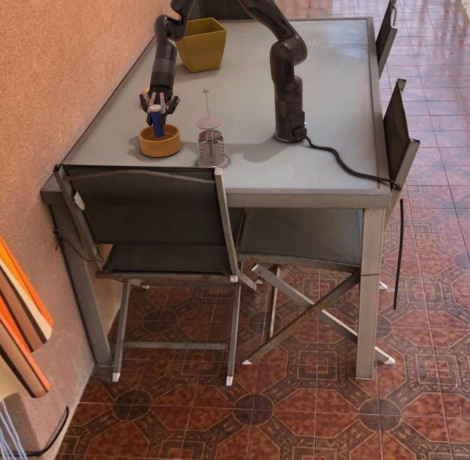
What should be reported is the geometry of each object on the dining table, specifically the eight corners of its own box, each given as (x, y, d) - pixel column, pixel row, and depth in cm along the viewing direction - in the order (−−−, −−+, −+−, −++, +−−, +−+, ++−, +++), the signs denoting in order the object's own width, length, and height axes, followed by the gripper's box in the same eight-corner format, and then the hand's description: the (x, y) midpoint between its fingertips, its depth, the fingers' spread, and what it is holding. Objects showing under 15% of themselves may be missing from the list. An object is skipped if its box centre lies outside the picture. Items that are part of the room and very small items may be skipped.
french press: (228, 153, 213) (222, 80, 198) (228, 171, 203) (222, 96, 189) (198, 155, 213) (189, 82, 198) (196, 173, 203) (188, 98, 189)
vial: (167, 135, 215) (163, 107, 209) (157, 138, 213) (153, 110, 207) (161, 131, 217) (157, 103, 211) (151, 134, 215) (147, 106, 210)
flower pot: (230, 69, 274) (227, 29, 265) (186, 77, 269) (182, 37, 259) (215, 55, 289) (212, 17, 279) (174, 63, 284) (169, 24, 274)
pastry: (179, 96, 253) (176, 74, 248) (167, 109, 244) (164, 87, 239) (150, 95, 256) (147, 73, 251) (138, 107, 247) (134, 85, 242)
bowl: (189, 149, 217) (187, 132, 213) (154, 162, 210) (151, 145, 207) (168, 136, 225) (166, 120, 222) (134, 148, 219) (131, 132, 216)
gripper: (138, 69, 211) (130, 120, 209) (180, 71, 209) (172, 122, 206) (146, 78, 219) (139, 128, 216) (187, 80, 216) (179, 130, 213)
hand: (155, 125), depth 211 cm, fingers closed on vial, 3 cm apart
